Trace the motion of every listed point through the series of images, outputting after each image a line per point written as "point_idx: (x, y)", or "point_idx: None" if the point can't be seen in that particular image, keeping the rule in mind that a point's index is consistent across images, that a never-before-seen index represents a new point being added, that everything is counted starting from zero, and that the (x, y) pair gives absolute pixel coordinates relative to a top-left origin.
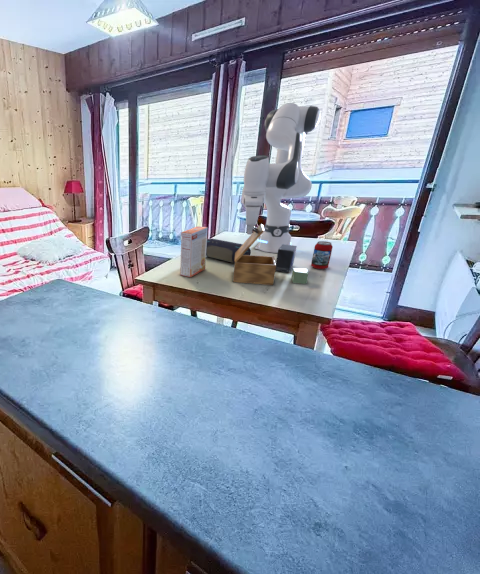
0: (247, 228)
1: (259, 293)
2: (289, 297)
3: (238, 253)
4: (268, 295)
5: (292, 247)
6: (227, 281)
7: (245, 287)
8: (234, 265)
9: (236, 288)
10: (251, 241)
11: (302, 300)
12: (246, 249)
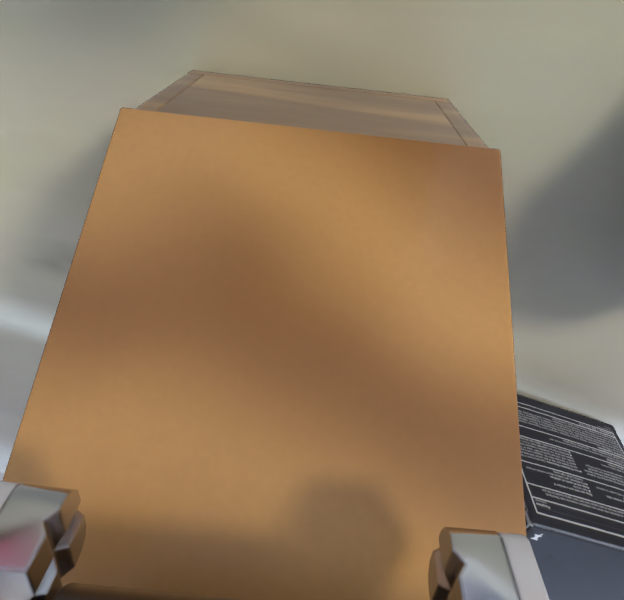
0: (453, 558)
1: (22, 234)
2: (35, 366)
3: (268, 185)
4: (13, 277)
5: (571, 595)
6: (193, 18)
7: (99, 159)
8: (379, 112)
9: (49, 86)
10: (70, 427)
11: (22, 406)
12: (66, 301)
